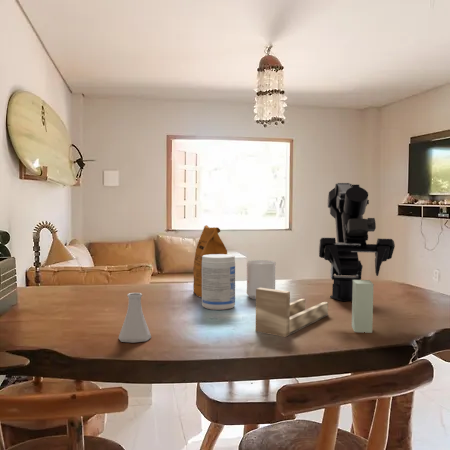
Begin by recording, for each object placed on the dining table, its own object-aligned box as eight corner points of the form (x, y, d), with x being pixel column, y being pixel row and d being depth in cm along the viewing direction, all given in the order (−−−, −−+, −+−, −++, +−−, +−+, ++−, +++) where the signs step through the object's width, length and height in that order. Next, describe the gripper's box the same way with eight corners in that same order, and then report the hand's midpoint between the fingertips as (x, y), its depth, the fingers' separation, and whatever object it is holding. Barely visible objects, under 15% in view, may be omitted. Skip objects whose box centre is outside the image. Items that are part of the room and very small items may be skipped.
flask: (120, 334, 107) (120, 290, 107) (152, 333, 108) (152, 290, 107) (115, 344, 100) (115, 297, 99) (150, 343, 101) (150, 297, 100)
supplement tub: (238, 310, 131) (239, 257, 130) (205, 311, 128) (205, 258, 128) (230, 302, 140) (230, 253, 139) (199, 303, 138) (199, 253, 137)
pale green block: (351, 326, 115) (352, 279, 114) (368, 326, 115) (369, 280, 114) (354, 332, 110) (355, 283, 109) (372, 332, 110) (373, 283, 109)
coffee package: (218, 290, 158) (218, 224, 156) (230, 297, 146) (231, 227, 145) (189, 291, 155) (189, 225, 153) (199, 299, 143) (199, 227, 142)
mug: (277, 300, 143) (278, 263, 143) (248, 300, 143) (249, 264, 142) (270, 292, 155) (270, 258, 155) (243, 292, 155) (244, 258, 154)
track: (301, 311, 130) (301, 275, 129) (327, 315, 125) (328, 278, 125) (255, 331, 110) (255, 288, 110) (285, 337, 106) (285, 293, 105)
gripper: (320, 206, 124) (323, 253, 113) (394, 207, 121) (403, 255, 111) (318, 234, 132) (320, 280, 122) (386, 235, 130) (394, 282, 119)
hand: (358, 274), depth 118 cm, fingers open, 9 cm apart
